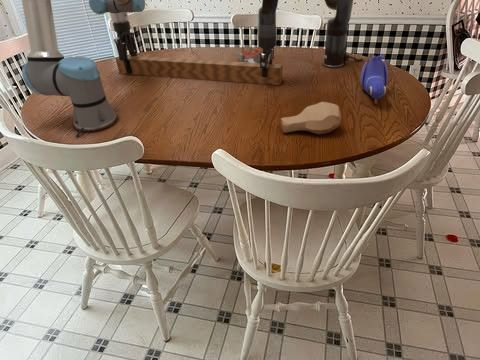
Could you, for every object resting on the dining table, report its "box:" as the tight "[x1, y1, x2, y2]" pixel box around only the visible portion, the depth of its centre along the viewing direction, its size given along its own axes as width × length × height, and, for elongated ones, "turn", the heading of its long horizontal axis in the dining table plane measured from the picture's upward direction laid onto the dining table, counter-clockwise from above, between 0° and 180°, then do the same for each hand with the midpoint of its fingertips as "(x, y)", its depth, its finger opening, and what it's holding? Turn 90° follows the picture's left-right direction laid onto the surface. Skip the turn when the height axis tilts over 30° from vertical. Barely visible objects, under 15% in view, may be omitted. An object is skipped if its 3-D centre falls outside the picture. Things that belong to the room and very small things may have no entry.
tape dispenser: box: [237, 48, 263, 63], centre depth 175 cm, size 18×5×20 cm
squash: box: [280, 101, 342, 135], centre depth 117 cm, size 11×20×9 cm, turn 92°
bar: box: [115, 55, 284, 86], centre depth 165 cm, size 82×5×8 cm, turn 71°
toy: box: [359, 54, 389, 105], centre depth 135 cm, size 10×17×25 cm
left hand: (132, 71), depth 177 cm, fingers closed on bar, 5 cm apart
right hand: (267, 73), depth 155 cm, fingers open, 8 cm apart
